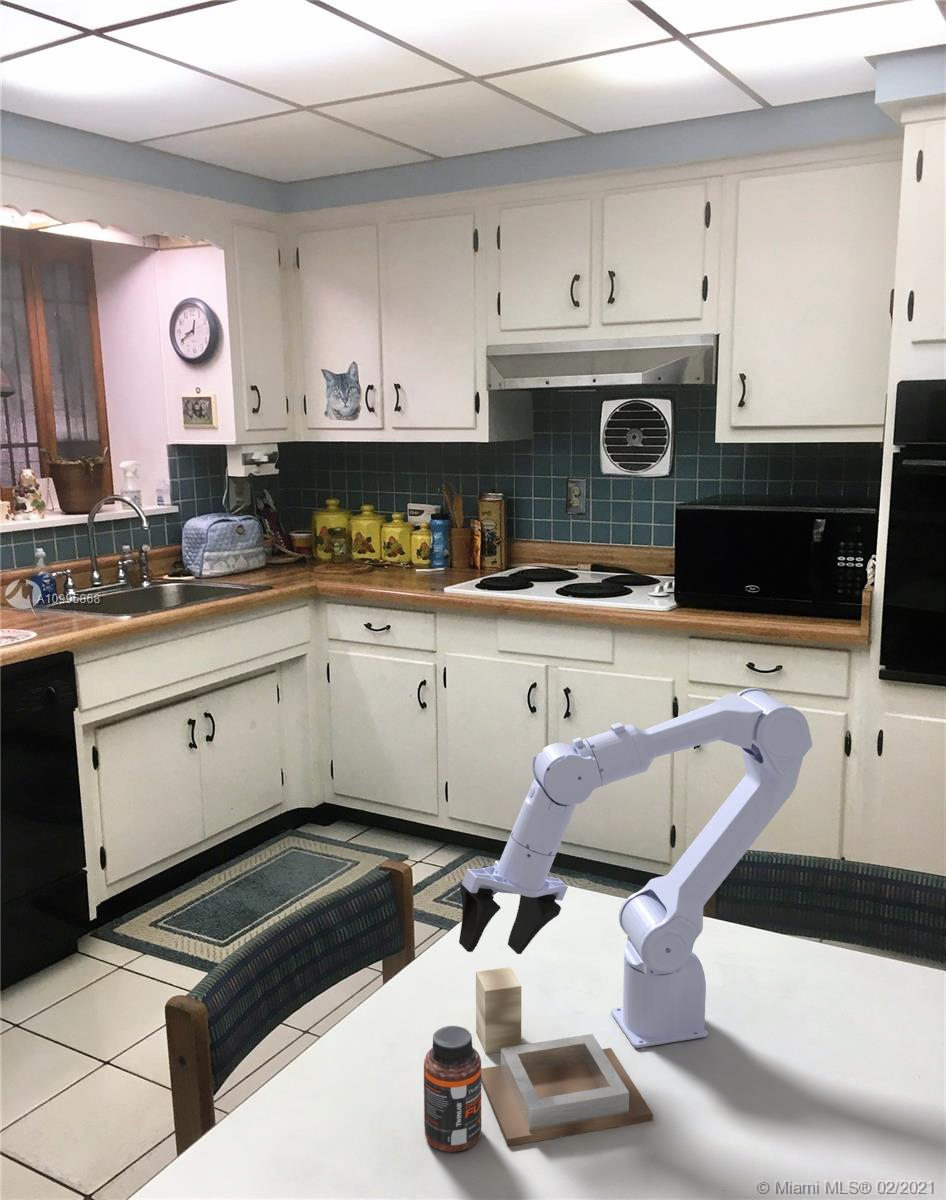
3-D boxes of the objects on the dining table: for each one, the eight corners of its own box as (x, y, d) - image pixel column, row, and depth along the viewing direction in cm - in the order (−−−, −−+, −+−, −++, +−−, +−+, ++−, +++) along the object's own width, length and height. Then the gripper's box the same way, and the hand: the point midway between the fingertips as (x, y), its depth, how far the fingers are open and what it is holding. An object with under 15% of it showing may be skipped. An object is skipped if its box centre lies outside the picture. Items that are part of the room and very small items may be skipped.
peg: (511, 1027, 127) (511, 967, 125) (521, 1048, 122) (521, 986, 121) (476, 1032, 125) (475, 971, 124) (485, 1053, 121) (485, 991, 120)
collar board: (610, 1054, 121) (611, 1028, 120) (652, 1120, 110) (653, 1092, 109) (478, 1075, 117) (478, 1048, 117) (507, 1146, 106) (507, 1117, 105)
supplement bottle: (475, 1159, 104) (474, 1056, 102) (418, 1151, 105) (416, 1050, 103) (486, 1120, 110) (486, 1022, 108) (432, 1113, 111) (430, 1016, 109)
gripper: (557, 833, 127) (516, 932, 129) (467, 820, 119) (424, 926, 120) (593, 862, 122) (550, 964, 123) (501, 850, 113) (456, 961, 114)
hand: (490, 948), depth 121 cm, fingers open, 7 cm apart
